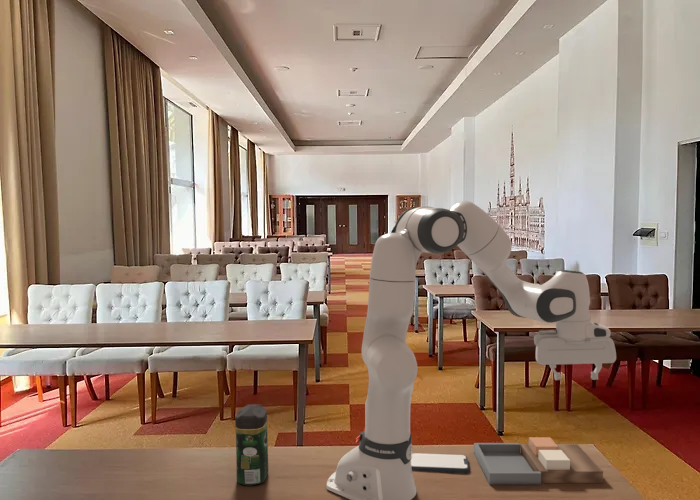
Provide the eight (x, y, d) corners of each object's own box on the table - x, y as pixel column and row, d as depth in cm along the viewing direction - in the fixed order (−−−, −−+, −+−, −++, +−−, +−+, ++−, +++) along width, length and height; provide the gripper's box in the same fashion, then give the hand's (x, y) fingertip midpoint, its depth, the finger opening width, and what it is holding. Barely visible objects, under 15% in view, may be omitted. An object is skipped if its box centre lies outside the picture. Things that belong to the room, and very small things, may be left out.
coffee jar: (241, 468, 147) (239, 401, 145) (270, 469, 146) (269, 401, 145) (233, 487, 137) (231, 415, 136) (264, 487, 137) (263, 415, 135)
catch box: (489, 484, 138) (489, 473, 137) (473, 453, 156) (473, 442, 155) (540, 484, 138) (541, 473, 137) (519, 453, 155) (519, 442, 155)
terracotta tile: (535, 455, 147) (535, 446, 147) (528, 445, 153) (528, 437, 153) (557, 455, 147) (558, 446, 147) (550, 445, 153) (550, 437, 153)
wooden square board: (539, 482, 139) (539, 471, 138) (520, 454, 154) (520, 444, 154) (602, 482, 138) (603, 471, 138) (577, 454, 154) (577, 444, 154)
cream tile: (546, 469, 139) (546, 460, 139) (538, 458, 145) (538, 449, 145) (569, 469, 139) (570, 460, 139) (560, 458, 145) (561, 449, 145)
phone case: (408, 472, 146) (469, 475, 143) (408, 466, 146) (469, 469, 143) (409, 457, 154) (467, 460, 152) (409, 452, 154) (466, 454, 152)
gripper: (535, 333, 146) (537, 383, 147) (616, 330, 142) (619, 382, 143) (531, 328, 152) (534, 376, 153) (609, 325, 148) (612, 374, 149)
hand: (576, 379), depth 148 cm, fingers open, 8 cm apart
